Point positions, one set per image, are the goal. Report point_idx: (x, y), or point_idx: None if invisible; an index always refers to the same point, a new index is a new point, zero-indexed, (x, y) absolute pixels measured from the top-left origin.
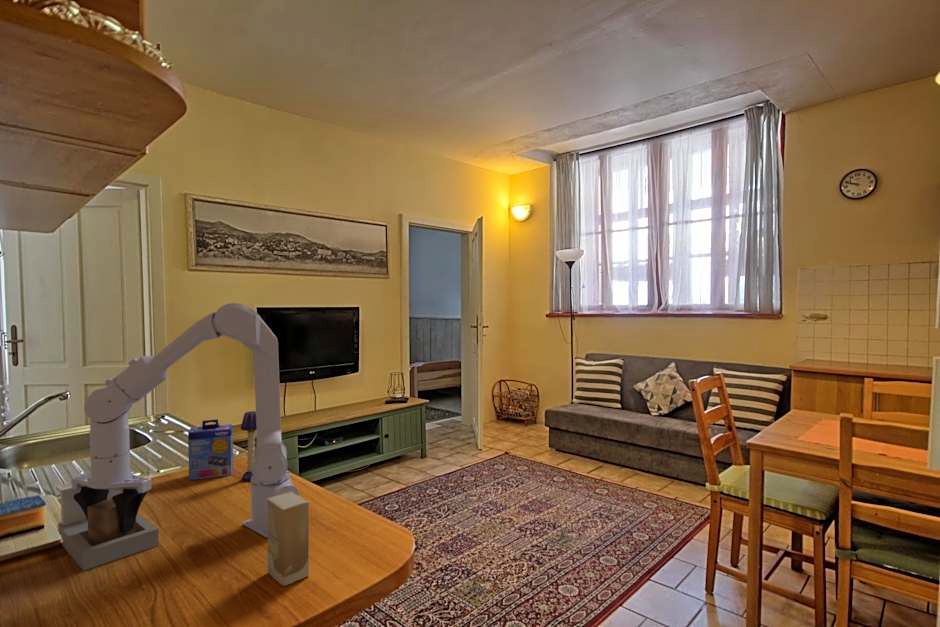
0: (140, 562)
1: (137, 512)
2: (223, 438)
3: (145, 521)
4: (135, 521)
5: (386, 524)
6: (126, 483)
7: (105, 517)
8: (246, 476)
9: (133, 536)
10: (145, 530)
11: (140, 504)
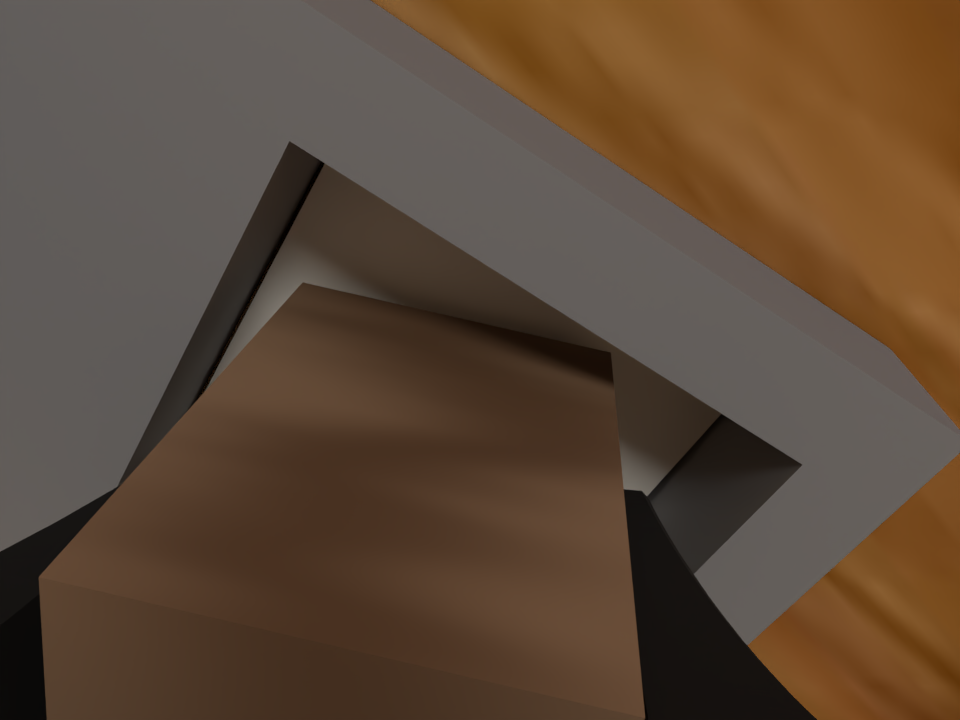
0: (900, 618)
1: (718, 609)
2: None
3: (619, 245)
4: (616, 454)
5: None
6: None
7: None
8: None
9: (766, 613)
10: (812, 482)
11: (791, 695)
